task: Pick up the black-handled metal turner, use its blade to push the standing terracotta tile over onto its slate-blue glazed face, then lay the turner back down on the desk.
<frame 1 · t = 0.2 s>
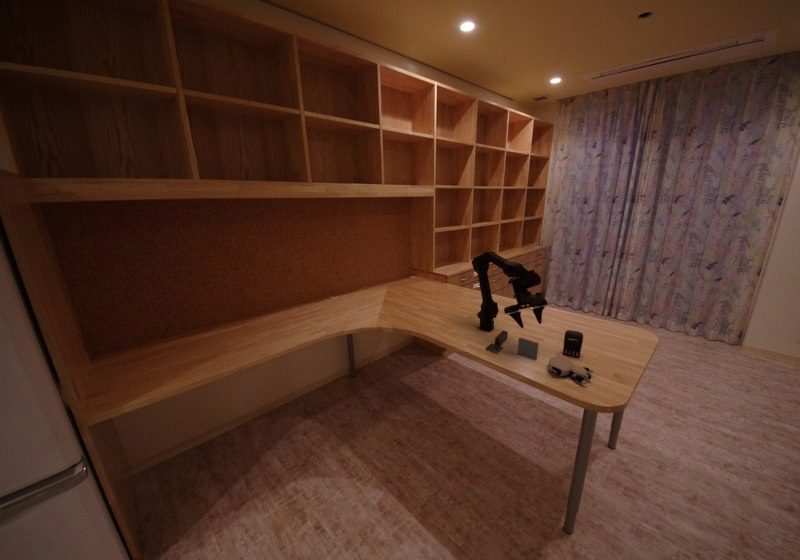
hand: (531, 325, 125), 14 cm above the table, tool tilted 30°, fingers open, 9 cm apart
turner: (501, 342, 142), on the table
robot toy: (568, 375, 115), on the table
tile: (527, 356, 129), on the table
battery charger: (570, 355, 128), on the table
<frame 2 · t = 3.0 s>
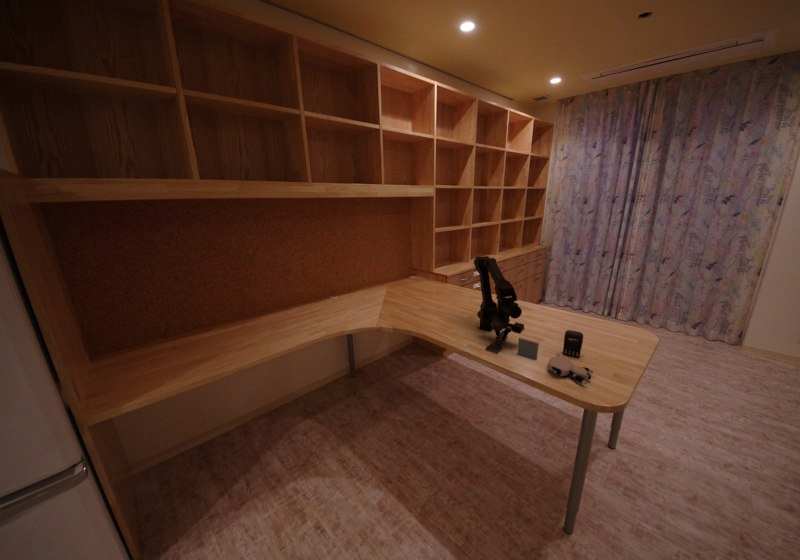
hand: (501, 340, 141), 1 cm above the table, tool pointing down, fingers closed on turner, 2 cm apart
turner: (501, 342, 142), on the table, touching gripper
everything else where it was.
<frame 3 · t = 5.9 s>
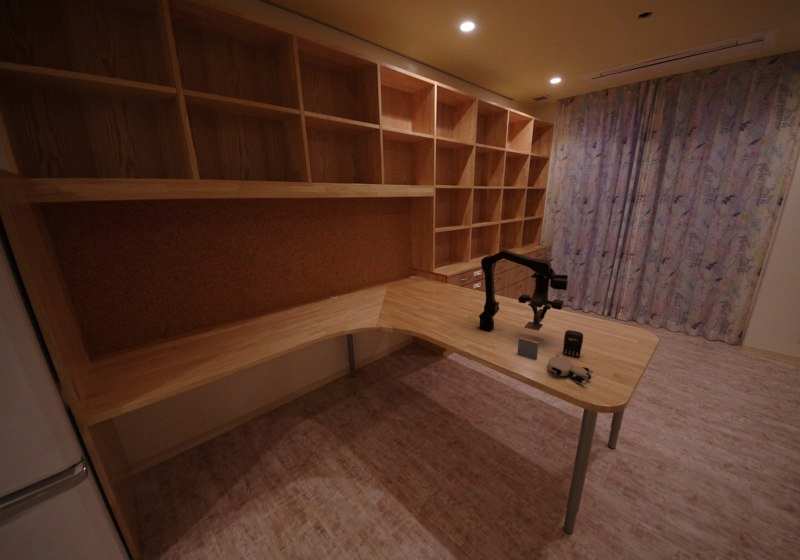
hand: (539, 318, 139), 11 cm above the table, tool pointing down, fingers closed on turner, 2 cm apart
turner: (538, 320, 140), point 10 cm above the table, touching gripper
everything else where it was.
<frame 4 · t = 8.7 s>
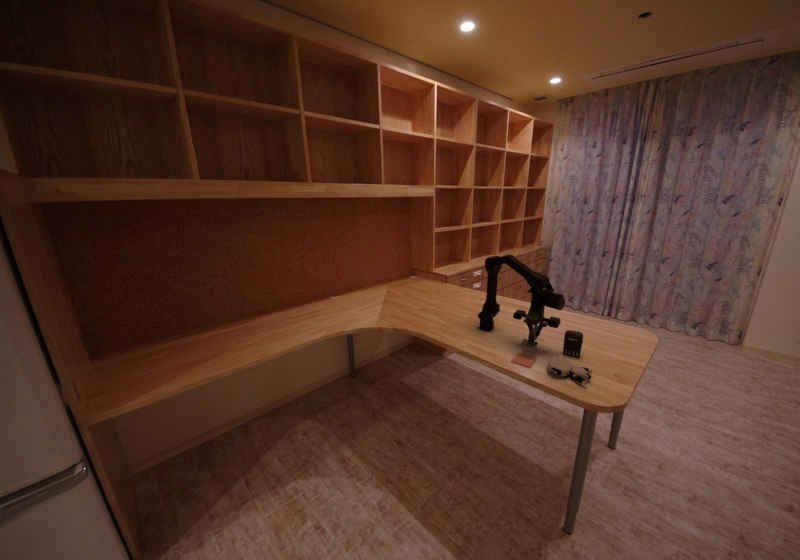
hand: (534, 335, 133), 6 cm above the table, tool pointing down, fingers closed on turner, 2 cm apart
turner: (534, 337, 134), point 6 cm above the table, touching gripper
tile: (526, 356, 128), on the table, tilted 90°
everything else where it was.
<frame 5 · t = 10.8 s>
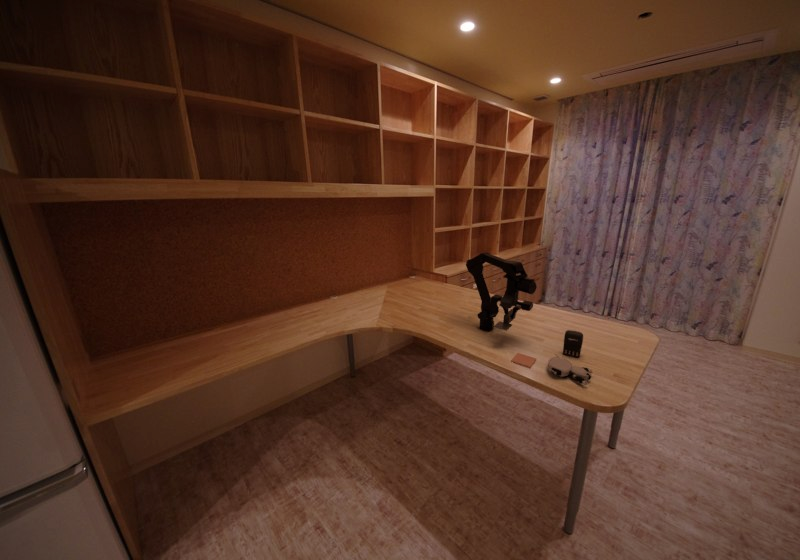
hand: (509, 318, 142), 11 cm above the table, tool pointing down, fingers closed on turner, 2 cm apart
turner: (509, 320, 142), point 10 cm above the table, touching gripper
everything else where it was.
when the fingers open (2 cm above the table, at t = 12.8 s): turner drops 2 cm, on the table.
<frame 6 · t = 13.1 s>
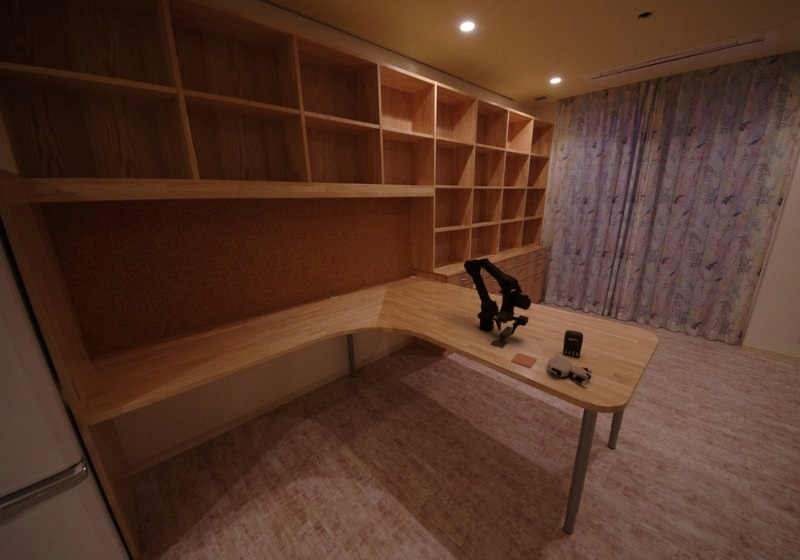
hand: (505, 332, 146), 2 cm above the table, tool pointing down, fingers open, 6 cm apart
turner: (505, 337, 146), on the table
everything else where it was.
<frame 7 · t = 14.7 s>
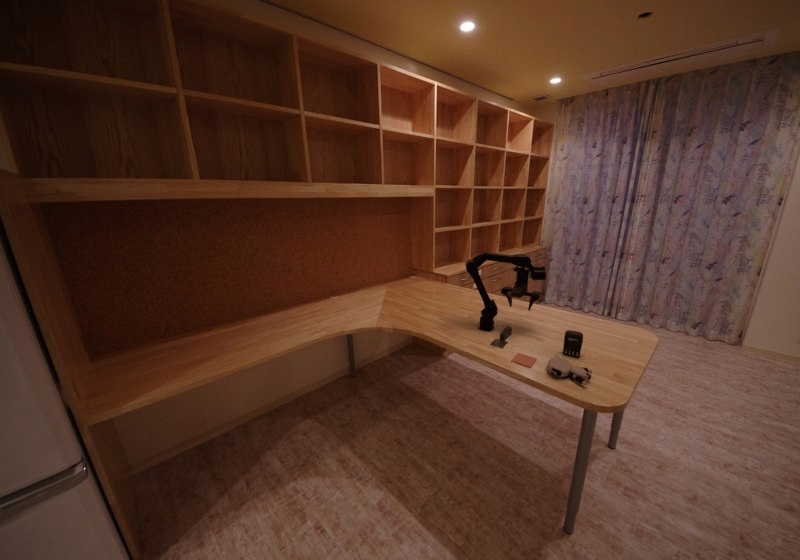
hand: (519, 308, 150), 12 cm above the table, tool pointing down, fingers open, 9 cm apart
nothing on the table moved.
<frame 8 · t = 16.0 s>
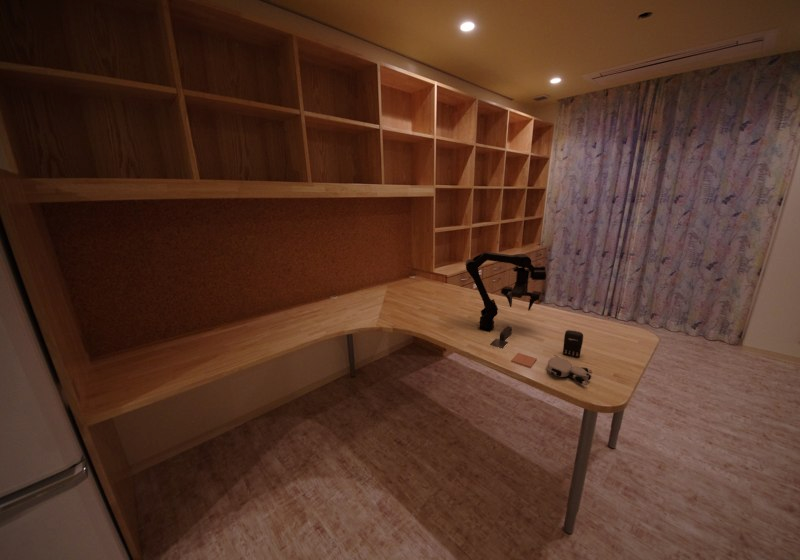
hand: (519, 308, 150), 12 cm above the table, tool pointing down, fingers open, 9 cm apart
nothing on the table moved.
at the end: tile tilted 90°; the gripper is holding nothing; turner on the table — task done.
